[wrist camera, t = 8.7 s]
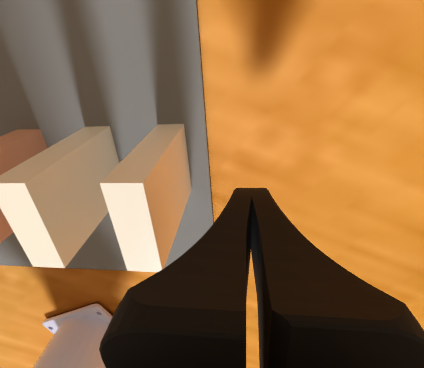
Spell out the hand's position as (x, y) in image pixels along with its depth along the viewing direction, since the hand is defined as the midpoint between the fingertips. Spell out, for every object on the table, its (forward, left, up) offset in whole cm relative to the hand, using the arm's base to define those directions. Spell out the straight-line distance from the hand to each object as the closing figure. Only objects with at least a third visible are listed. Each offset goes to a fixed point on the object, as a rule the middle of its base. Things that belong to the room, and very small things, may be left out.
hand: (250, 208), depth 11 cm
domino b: (+4, +8, -5) cm, 11 cm away
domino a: (+2, +4, -5) cm, 7 cm away
